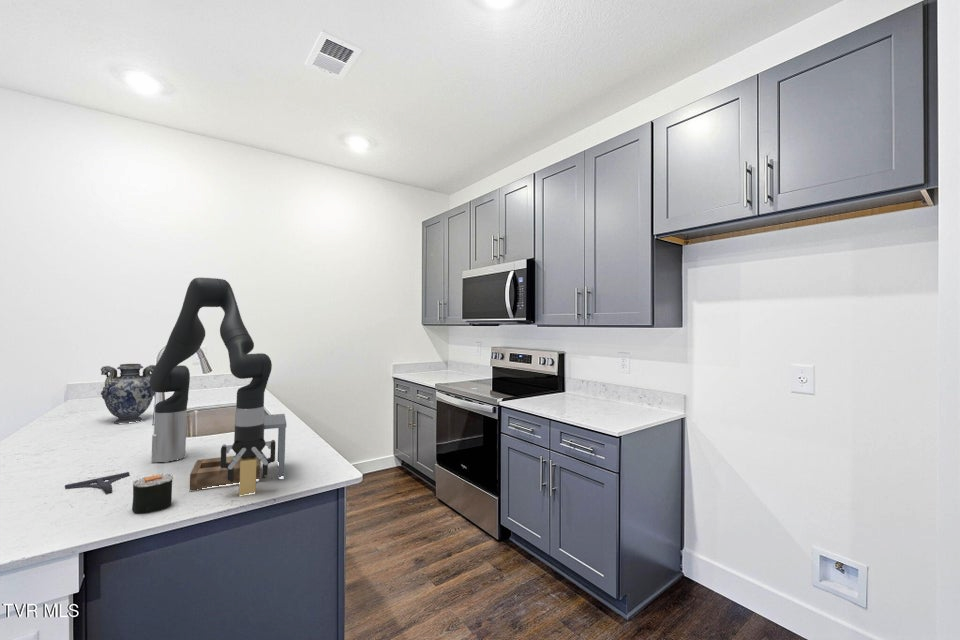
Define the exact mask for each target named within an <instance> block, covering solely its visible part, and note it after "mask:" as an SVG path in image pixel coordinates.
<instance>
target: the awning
mask: <svg viewBox="0 0 960 640" xmlns="http://www.w3.org/2000/svg"><path fill="white" fill-rule="evenodd" d="M286 428H287V418H286V414H285V413H278V414H277V413H276V414H275V413H274V414H265V420H264V430H269V429H270V430H273V429H277V430H278V431H277V433H278V434H277V461H278V462H279V466H278V475H279V477H281V476H284V477H285V463H286V462H285V461H286V460H285V458H286Z"/></svg>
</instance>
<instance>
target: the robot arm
mask: <svg viewBox="0 0 960 640" xmlns="http://www.w3.org/2000/svg"><path fill="white" fill-rule="evenodd" d="M233 290H234V289H233V288H232V286H231V284H230V283H229V282H228V281H227V280H226V279H223V278H215V277H214V278H213V277H195V278H192V280H191V281H190V282H189V283H188V286H187V289H186V293H185V297H184V300H183V303H182V307H181V310H180V312H179V315H178V317H177V319H176V323H175V324H174V326H173V328H172V331H171V333H170V334H169V338H168V340H167V343H166V345H165V347H164V350H163V352H162V354H161V355H160V358H159V359H158V360H157V362H156V364H155V365H156V366H155V367H154V369H153V371H152V373H151V372H150V374H151V376H150V388H151V389H152V390H153V391H154V392H155V393H170V392H173V394H171V396H169V397H168V398H166V399H163V400H161V401H159V402H156V404H155V405H154V424H153V425H154V427H153V434H152V438H151V458H150V459H151V462H150V463H153V462H154V463H157V462H165V463H169V462H168V461H172V462H174V461H173V460H177V459H180V460H182V459H181V458H183V457H184V456H185V457H186V453H187V452H186V446H187V445H186V444H187V443H186V442H187V415H188V414H187V413H188V411H187V410H188V402H189V393H190V381H191V374H190V369H189V367H187V365H181V363H183V362H185V361H186V360H187V359H189V358H191V357H192V356H194V355H195V354H197V352H198V351H199V350H200V348H201V346H202V344H203V342H204V340H205V338H206V329H205V326H204V325H203V323H202V321H201V318H199V311H200V309H202V308H220V309H222V311H223V312H224V314H223V315H224V316H223V318H222V321H221V324H220V326H219V327H220V328H219V334H220V335H219V336H220V337H221V338H220V339H221V340H222V342H223V344H224V346H225V348H226V349H227V352H228V359H229V368H230V373H231V374H232V375H233V377H235V378H236V379H240V380H241V379H243V380H244V379H251V381H250V382H249V384H247V385H244V386H241V387H239V388H238V389H237V391H236V405H235V406H236V407H235V408H236V409H235V415H234V438H233V443H232V444H228V445H226V444H224V443H223V445H221V447H220V457H221V464H220V467H221V468H227V469H228V481H229V480H230V482H233V480H234V465H235V464H236V463H237V462H238V460H239V459H240V458H242V459H246V458H255V457H256V456H257V457H258V458H259V460H261V463H262V469H261V470H262V471H261V472H262V473H261V475H262V477H261V478H262V479H265V477H266V476H268V471H269V470H268V469H269V465H270V464H271V463H275V461H276V440H275V439H272V440H270V441H265V429H264V420H265V415H266V413H265V391H266V388H267V385H268V382H269V379H270V378H269V377H270V375H271V372H272V369H273V364H272V360H271V357H269V355H268V354H266V353H263V352H262V353H261V352H260V353H259V352H258V353H251V352H252V351H253V350H254V348H255V344H254V340H253V338H252V337H251V335H250V333H249V331H248V330H247V327H246V326H245V324H244V322H243V319H242V315H241V313H240V309H239V306H238V303H237V299H236V297H235V296H236V295H235V294H234V291H233ZM266 446H267V449H268V450H270V453H269V454H270V457H267V456H266V455H265V453H264V452H263V449H264V448H265V447H266ZM231 450H232V451H233V452H234V453H235V455H233V456H234V458H233V459H232V460H231V462H230V463H228V462H226V457H227V454H229V453H230V451H231ZM185 457H184V458H185ZM184 458H183V459H184ZM177 461H178V460H177Z"/></svg>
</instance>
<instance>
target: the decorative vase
mask: <svg viewBox="0 0 960 640" xmlns="http://www.w3.org/2000/svg"><path fill="white" fill-rule="evenodd" d="M155 366H156V364H150V365H147V366H146V367H145V368H144V366H143V365H142V364H141V363H123V364H121V363H120V364H119V366H117V368H115V367H113V366H111V365H105V366H102V367H101V368H100V372H101V373H100V375H101V376H105V381H104V386H103V388H102V391H101V392H100V395H101V398H102V399H103V401H104V404H105V406H106V409H107V410H108V411H109V413H110V414H111V415H113V416H114V417H116V418H117V419H116V420H114V421H113V423H114V424H115V423H129V422H136V421H140V422H142V421H143V419H144V418H142V417H141V415H142V414H143V415H144V413H145V412H146V411H147V410H148V408H149V407H150V405H151V404H152V402H153V398H154V397H155V395H156V392H154V391H153V390H152V389H151V388H150V376H151V373H152V371H153V369H154V367H155ZM141 369H143V370H142V375H141V371H140V370H141ZM118 370H119V371H120V372H119V375H120V376H118ZM141 420H142V421H141ZM136 423H137V422H136Z"/></svg>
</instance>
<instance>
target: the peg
mask: <svg viewBox="0 0 960 640" xmlns="http://www.w3.org/2000/svg"><path fill="white" fill-rule="evenodd" d="M256 462H257V456H256V457H255V458H246V459H242V458H241V460H240V485H239V494H238V496H239V495H244V494H249V493H254V492H255V491H256V490H257V488H256V486H257V485H256V484H257V482H256ZM255 493H256V492H255Z"/></svg>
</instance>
